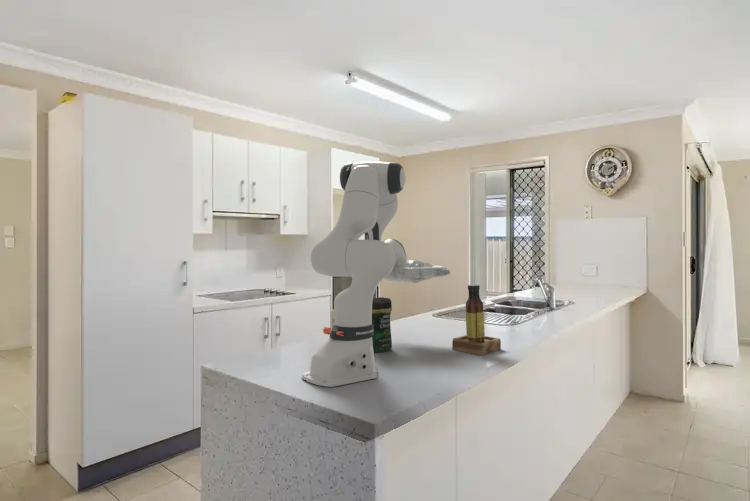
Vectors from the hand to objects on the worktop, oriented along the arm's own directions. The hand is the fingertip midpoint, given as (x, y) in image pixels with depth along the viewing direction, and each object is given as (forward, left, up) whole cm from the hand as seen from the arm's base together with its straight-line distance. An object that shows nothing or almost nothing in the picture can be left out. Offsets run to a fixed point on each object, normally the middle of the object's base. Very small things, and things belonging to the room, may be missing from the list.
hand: (441, 272), depth 170 cm
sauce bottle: (+1, -14, -24) cm, 27 cm away
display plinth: (+2, -14, -27) cm, 30 cm away
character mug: (-27, +26, -27) cm, 46 cm away
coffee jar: (-23, +10, -27) cm, 37 cm away
